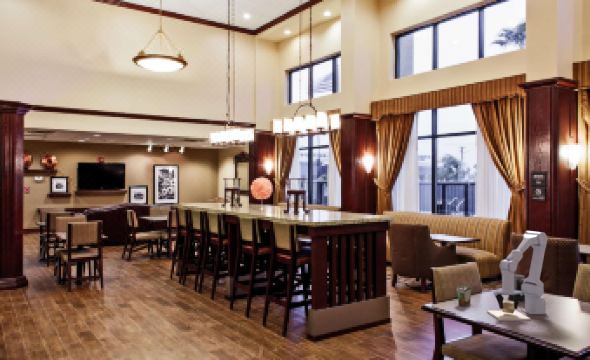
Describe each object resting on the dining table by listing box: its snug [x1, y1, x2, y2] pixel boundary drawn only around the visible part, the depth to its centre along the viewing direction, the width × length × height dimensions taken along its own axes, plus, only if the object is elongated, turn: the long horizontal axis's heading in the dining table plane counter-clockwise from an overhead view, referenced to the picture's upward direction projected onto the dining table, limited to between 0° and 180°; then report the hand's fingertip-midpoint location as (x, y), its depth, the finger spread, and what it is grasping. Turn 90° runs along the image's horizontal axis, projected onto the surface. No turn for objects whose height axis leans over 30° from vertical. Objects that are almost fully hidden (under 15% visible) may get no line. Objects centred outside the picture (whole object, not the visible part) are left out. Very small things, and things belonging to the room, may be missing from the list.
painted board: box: [486, 310, 532, 322], centre depth 227 cm, size 16×14×1 cm
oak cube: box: [501, 299, 516, 314], centre depth 227 cm, size 5×5×5 cm
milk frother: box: [507, 273, 525, 303], centre depth 259 cm, size 14×16×15 cm
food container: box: [456, 285, 472, 308], centre depth 250 cm, size 12×6×10 cm, turn 141°
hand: (508, 308), depth 227 cm, fingers closed on oak cube, 7 cm apart
